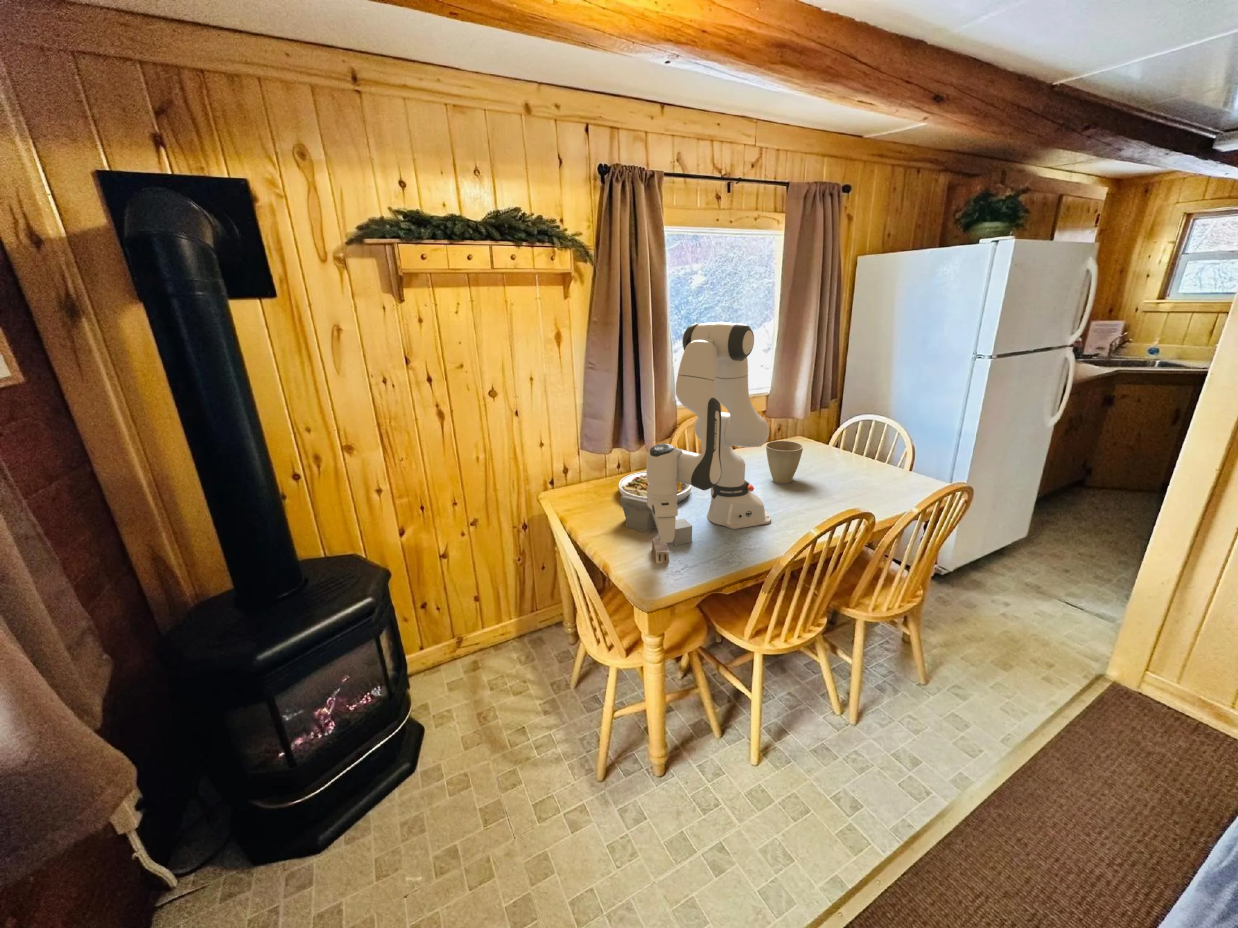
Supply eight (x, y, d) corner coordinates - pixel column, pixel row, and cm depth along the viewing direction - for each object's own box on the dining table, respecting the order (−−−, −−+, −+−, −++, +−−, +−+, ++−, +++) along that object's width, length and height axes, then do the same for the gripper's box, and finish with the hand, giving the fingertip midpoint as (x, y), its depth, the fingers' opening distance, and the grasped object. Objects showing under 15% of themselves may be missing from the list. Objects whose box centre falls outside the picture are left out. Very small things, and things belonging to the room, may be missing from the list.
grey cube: (683, 534, 164) (684, 518, 162) (691, 542, 158) (692, 525, 156) (668, 537, 162) (667, 521, 160) (675, 545, 157) (675, 529, 155)
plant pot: (795, 474, 212) (798, 440, 207) (803, 487, 198) (807, 450, 193) (760, 474, 214) (763, 440, 208) (767, 487, 200) (769, 451, 195)
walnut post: (668, 562, 147) (664, 548, 155) (668, 551, 145) (664, 537, 154) (656, 563, 147) (652, 548, 155) (656, 552, 145) (652, 538, 154)
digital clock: (667, 528, 168) (667, 500, 165) (650, 537, 162) (649, 509, 159) (633, 515, 179) (633, 489, 176) (616, 523, 173) (615, 496, 170)
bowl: (689, 511, 181) (689, 492, 178) (612, 507, 187) (611, 489, 184) (693, 482, 209) (693, 465, 206) (626, 479, 215) (625, 463, 212)
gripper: (647, 486, 149) (648, 526, 154) (656, 514, 130) (656, 559, 135) (667, 485, 149) (667, 524, 154) (678, 513, 130) (678, 557, 135)
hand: (662, 541), depth 144 cm, fingers closed
